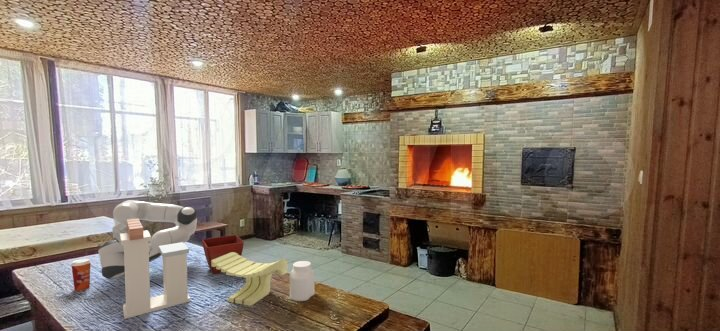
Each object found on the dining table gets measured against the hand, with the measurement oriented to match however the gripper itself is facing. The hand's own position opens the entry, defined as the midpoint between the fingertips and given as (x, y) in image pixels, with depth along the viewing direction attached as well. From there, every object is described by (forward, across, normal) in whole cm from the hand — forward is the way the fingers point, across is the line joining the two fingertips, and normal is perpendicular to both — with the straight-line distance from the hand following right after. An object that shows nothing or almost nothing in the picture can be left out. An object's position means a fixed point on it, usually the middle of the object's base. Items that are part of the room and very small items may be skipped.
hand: (133, 234), depth 152 cm
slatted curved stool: (+20, -61, +4) cm, 64 cm away
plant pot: (-18, -44, +17) cm, 51 cm away
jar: (+33, -79, +14) cm, 87 cm away
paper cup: (-33, +3, -25) cm, 41 cm away
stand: (+5, -31, -17) cm, 36 cm away
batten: (+17, -4, -4) cm, 18 cm away
